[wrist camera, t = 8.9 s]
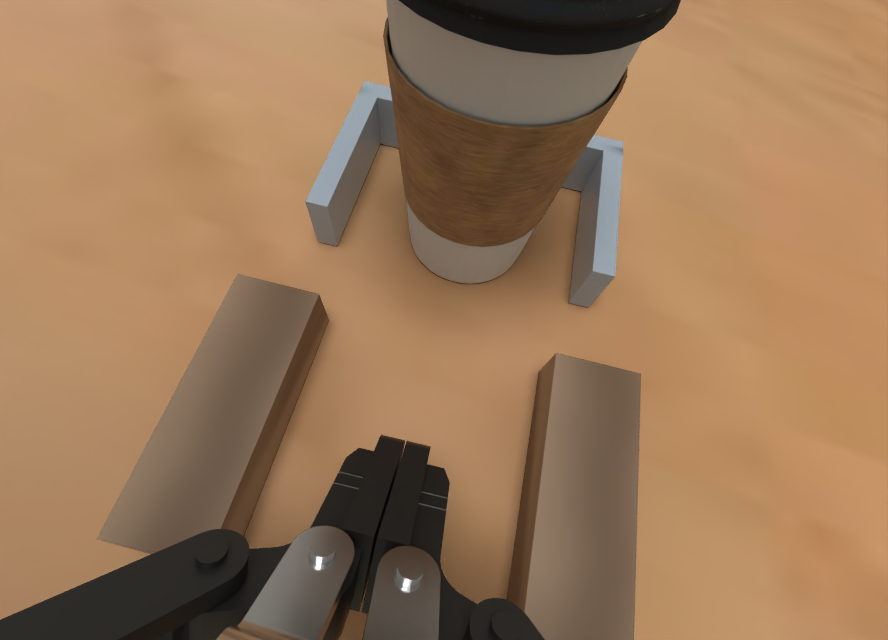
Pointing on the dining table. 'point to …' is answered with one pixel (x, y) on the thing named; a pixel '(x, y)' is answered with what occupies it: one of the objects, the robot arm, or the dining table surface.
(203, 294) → the dining table surface
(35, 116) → the dining table surface
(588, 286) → the corral
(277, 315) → the clamp blocks
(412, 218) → the coffee cup
